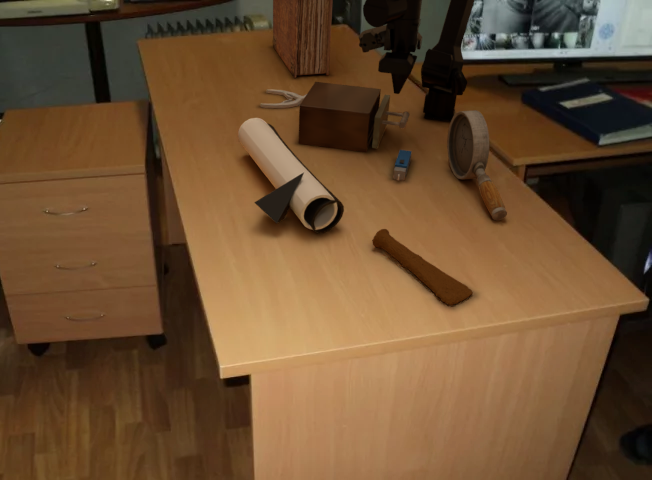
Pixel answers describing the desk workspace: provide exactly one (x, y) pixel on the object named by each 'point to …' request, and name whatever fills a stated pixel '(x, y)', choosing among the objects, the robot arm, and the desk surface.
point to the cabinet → (337, 116)
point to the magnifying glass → (473, 156)
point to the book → (303, 35)
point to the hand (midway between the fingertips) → (396, 93)
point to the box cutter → (402, 165)
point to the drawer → (383, 120)
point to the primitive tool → (423, 270)
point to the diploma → (288, 180)
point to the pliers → (287, 102)
